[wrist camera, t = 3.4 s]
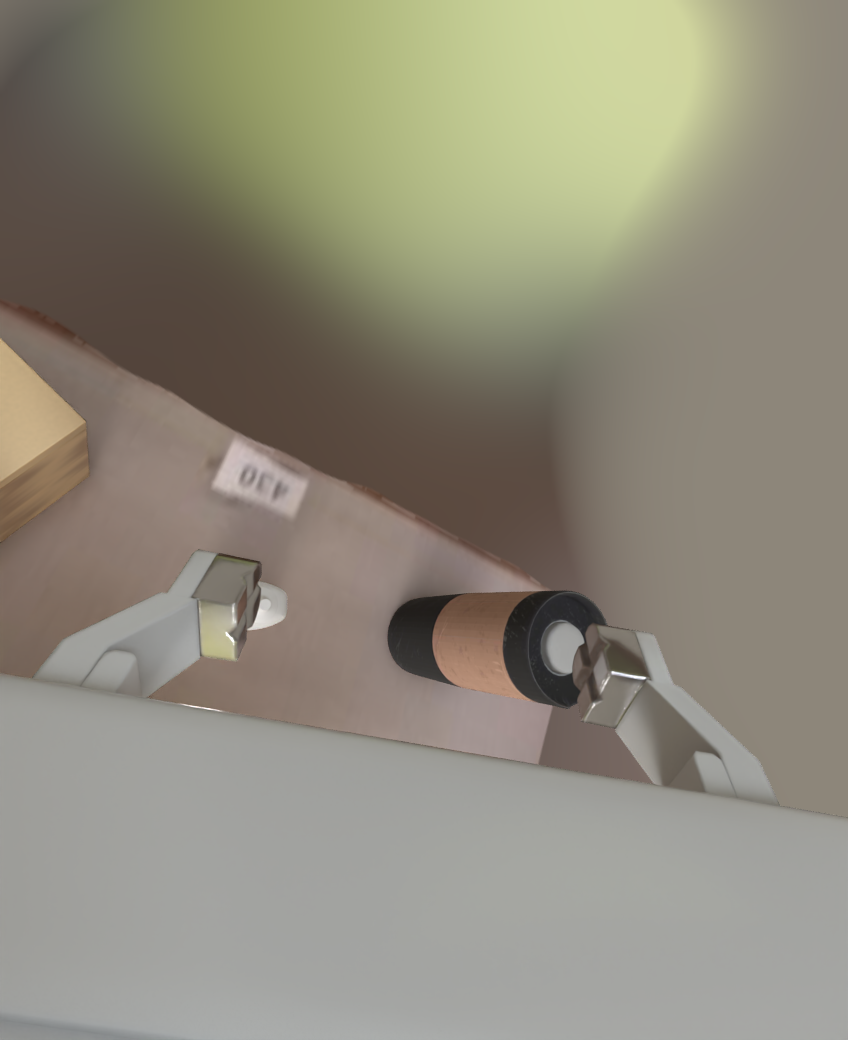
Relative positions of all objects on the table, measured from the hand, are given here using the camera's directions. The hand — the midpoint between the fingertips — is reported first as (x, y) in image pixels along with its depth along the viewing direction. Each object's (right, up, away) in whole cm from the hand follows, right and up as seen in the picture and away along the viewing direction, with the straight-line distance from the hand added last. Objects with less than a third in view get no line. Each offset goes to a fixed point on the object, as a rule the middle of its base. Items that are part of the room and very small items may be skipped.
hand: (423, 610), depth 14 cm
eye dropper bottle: (-16, -5, +32) cm, 36 cm away
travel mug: (0, -9, +40) cm, 41 cm away
